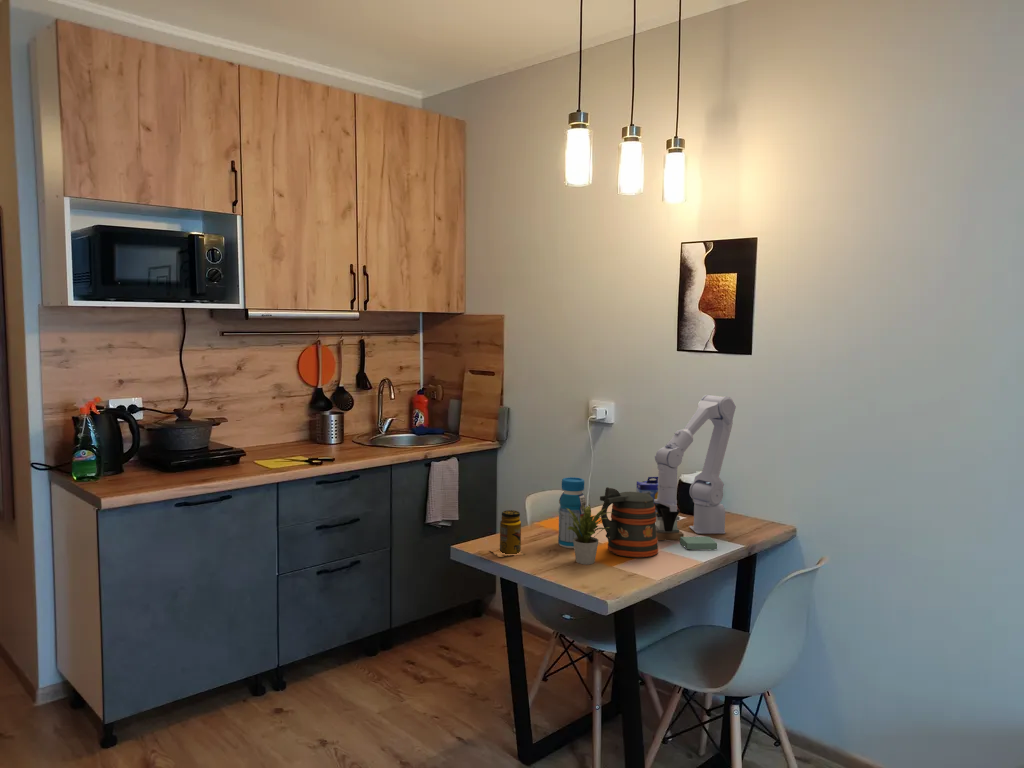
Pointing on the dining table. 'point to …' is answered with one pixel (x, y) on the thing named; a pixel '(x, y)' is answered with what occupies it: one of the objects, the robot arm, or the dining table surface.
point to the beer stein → (630, 523)
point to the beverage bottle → (574, 502)
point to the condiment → (510, 532)
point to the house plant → (586, 535)
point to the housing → (661, 525)
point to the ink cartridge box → (649, 488)
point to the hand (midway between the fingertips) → (666, 528)
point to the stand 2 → (698, 542)
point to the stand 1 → (669, 536)
